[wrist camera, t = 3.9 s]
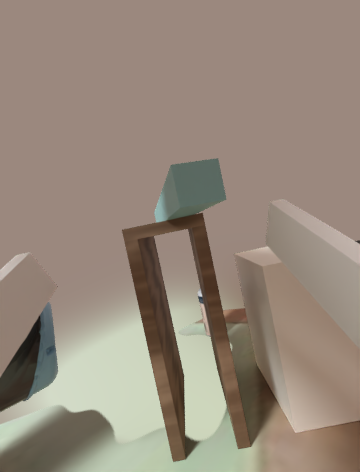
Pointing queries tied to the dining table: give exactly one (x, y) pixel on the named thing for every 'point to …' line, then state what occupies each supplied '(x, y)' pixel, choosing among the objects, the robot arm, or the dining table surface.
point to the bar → (190, 189)
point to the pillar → (298, 345)
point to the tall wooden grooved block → (162, 329)
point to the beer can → (203, 312)
